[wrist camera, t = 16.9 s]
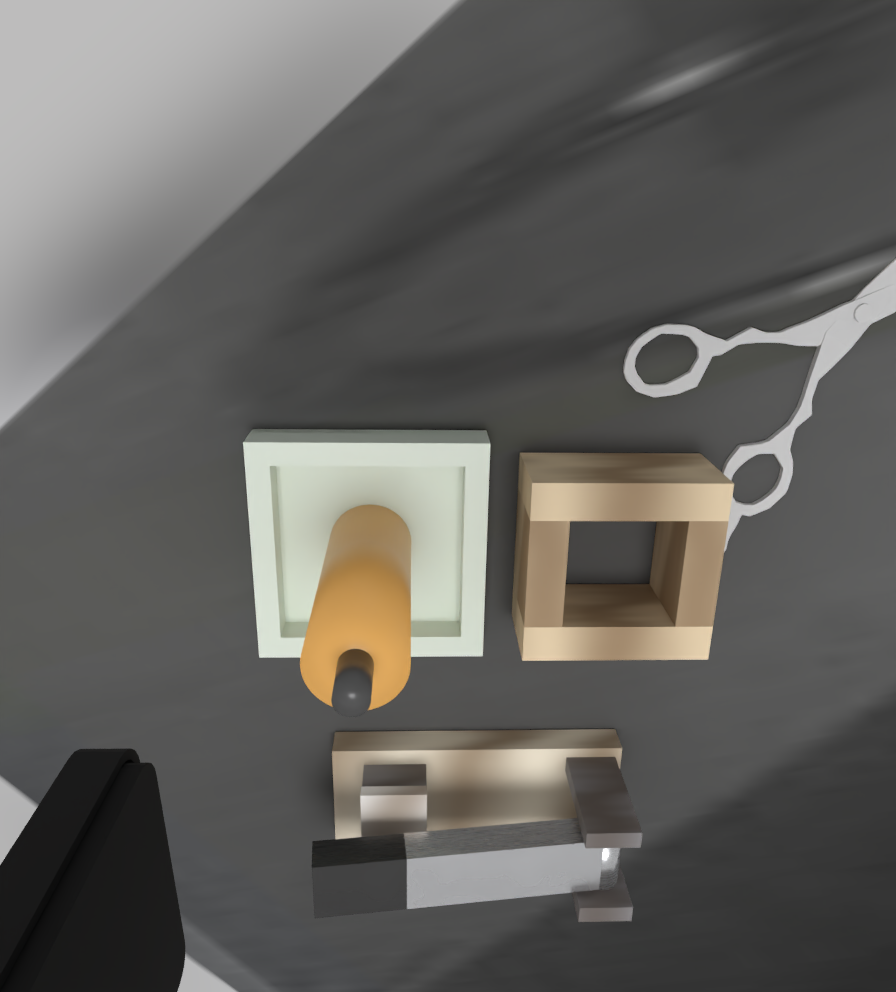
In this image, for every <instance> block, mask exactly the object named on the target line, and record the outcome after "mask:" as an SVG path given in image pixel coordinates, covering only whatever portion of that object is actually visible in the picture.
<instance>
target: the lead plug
mask: <svg viewBox="0 0 896 992" xmlns="http://www.w3.org/2000/svg"><path fill="white" fill-rule="evenodd" d="M410 667H411V536H410V532H409V529H408V527H407V525H406V523H405V522H404V520H403V519H402V518H401V517H400V516H399V515H398V514H396V513H395V512H394V511H392V510H390V509H388V508H386V507H383V506H379V505H370V504H369V505H361V506H357V507H354V508H352V509H350V510H348V511H346V512H345V513H344V514H342V515H341V516H340V517H339V518H338V520H337V521H336V522H335V524H334V526H333V528H332V531H331V534H330V538H329V543H328V547H327V551H326V555H325V559H324V563H323V567H322V571H321V575H320V579H319V583H318V587H317V591H316V595H315V599H314V603H313V607H312V612H311V616H310V620H309V624H308V628H307V632H306V636H305V640H304V644H303V648H302V652H301V658H300V668H301V673H302V677H303V679H304V681H305V684H306V685H307V687H308V688H309V690H310V691H311V692H312V693H313V694H314V695H315V696H316V697H317V698H318V699H320V700H321V701H323V702H324V703H326V704H328V705H330V706H332V707H333V708H334V709H335V711H336V712H338V713H339V714H341V715H343V716H346V717H357V716H360V715H362V714H364V713H365V712H366V711H367V710H371V709H374V708H378V707H380V706H382V705H384V704H386V703H388V702H390V701H391V700H392V699H394V698H395V697H396V696H397V695H398V694H399V693H400V692H401V690H402V689H403V688H404V686H405V684H406V682H407V680H408V677H409V674H410Z"/></svg>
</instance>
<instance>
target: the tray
mask: <svg viewBox="0 0 896 992" xmlns="http://www.w3.org/2000/svg"><path fill="white" fill-rule="evenodd" d="M243 447H244V460H245V473H246V487H247V500H248V513H249V527H250V540H251V553H252V567H253V580H254V593H255V606H256V620H257V633H258V646H259V658H260V657H301V652H302V648H303V644H304V640H305V636H306V632H307V628H308V624H309V620H310V616H311V612H312V607H313V603H314V599H315V595H316V591H317V587H318V583H319V579H320V575H321V571H322V567H323V563H324V559H325V555H326V551H327V547H328V543H329V538H330V534H331V531H332V528H333V526H334V524H335V522H336V521H337V520H338V518H339V517H340V516H341V515H342V514H344V513H345V512H346V511H348V510H350V509H352V508H354V507H357V506H361V505H369V504H370V505H379V506H383V507H386V508H388V509H390V510H392V511H394V512H395V513H396V514H398V515H399V516H400V517H401V518H402V519H403V520H404V522H405V523H406V525H407V527H408V529H409V532H410V536H411V657H425V656H483V634H484V606H485V578H486V551H487V523H488V496H489V468H490V441H489V437H488V434H487V431H486V430H346V429H252V431H251V432H250V433H249V435H248V436H247V438H246V439H245V440H244V442H243Z"/></svg>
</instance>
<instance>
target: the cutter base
mask: <svg viewBox="0 0 896 992" xmlns="http://www.w3.org/2000/svg"><path fill="white" fill-rule="evenodd" d="M621 755H622V746H621V744H620V741H619V738H618V736H617V733H616V730H615V729H571V730H470V731H369V732H335V735H334V742H333V749H332V761H333V786H334V810H335V835H336V839H345V838H357V837H368V836H379V835H391V834H402V833H413V832H424V831H436V830H447V829H458V828H470V827H481V826H492V825H504V824H515V823H526V822H538V821H549V820H560V819H572V818H578V822H579V826H580V829H581V833H582V837H583V841H584V845H585V848H641V840H642V830H641V828H640V825H639V822H638V819H637V816H636V814H635V811H634V808H633V805H632V802H631V800H630V797H629V794H628V791H627V788H626V786H625V783H624V780H623V777H622V774H621V772H620V764H621ZM572 896H573V900H574V905H575V909H576V914H577V918H578V922H597V921H631V919H632V911H633V906H632V903H631V899H630V896H629V893H628V890H627V886H626V883H625V880H624V876H623V873H622V870H621V867H620V863H619V869H618V878H617V883H616V885H615V886H614V887H612V888H610V889H608V890H590V891H580V892H572Z"/></svg>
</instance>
